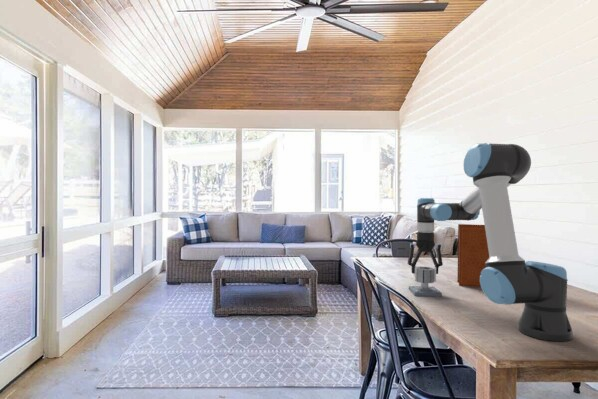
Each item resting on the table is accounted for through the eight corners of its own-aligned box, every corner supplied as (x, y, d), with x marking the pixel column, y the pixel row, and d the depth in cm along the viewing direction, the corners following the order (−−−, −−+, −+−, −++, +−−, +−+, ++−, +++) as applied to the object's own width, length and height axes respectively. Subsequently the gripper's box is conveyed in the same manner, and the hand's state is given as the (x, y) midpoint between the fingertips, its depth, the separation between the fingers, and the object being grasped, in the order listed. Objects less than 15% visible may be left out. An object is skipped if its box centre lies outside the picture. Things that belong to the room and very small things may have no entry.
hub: (436, 283, 177) (436, 270, 176) (417, 283, 177) (418, 269, 177) (431, 279, 184) (431, 266, 184) (413, 279, 185) (414, 266, 185)
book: (458, 285, 195) (459, 225, 195) (457, 281, 203) (458, 224, 202) (510, 289, 188) (511, 226, 188) (506, 285, 196) (507, 225, 196)
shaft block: (441, 296, 174) (442, 274, 174) (414, 295, 175) (414, 273, 175) (434, 289, 186) (434, 268, 186) (408, 289, 187) (408, 268, 187)
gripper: (445, 231, 183) (445, 279, 184) (400, 230, 184) (400, 278, 185) (451, 232, 176) (450, 283, 176) (404, 232, 177) (403, 282, 178)
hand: (424, 280), depth 181 cm, fingers closed on hub, 8 cm apart
